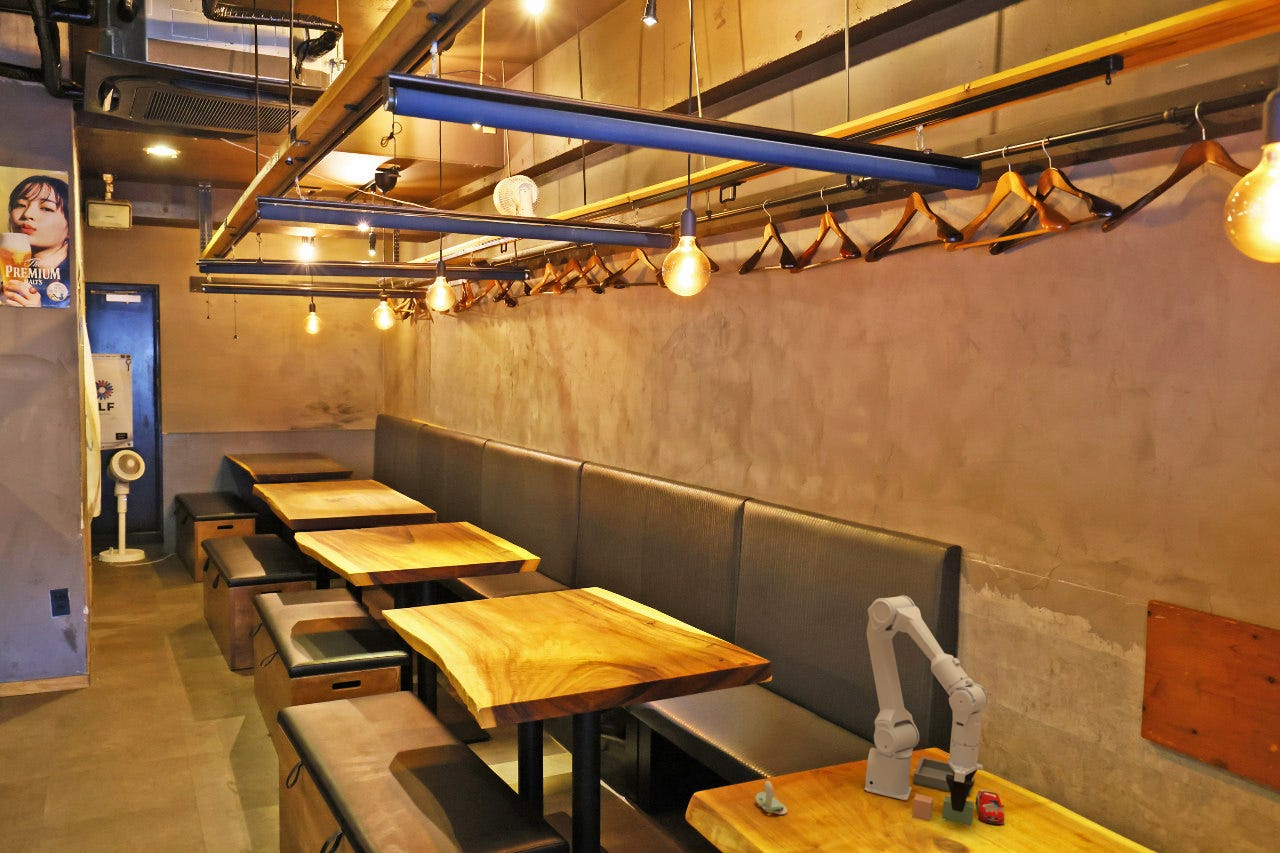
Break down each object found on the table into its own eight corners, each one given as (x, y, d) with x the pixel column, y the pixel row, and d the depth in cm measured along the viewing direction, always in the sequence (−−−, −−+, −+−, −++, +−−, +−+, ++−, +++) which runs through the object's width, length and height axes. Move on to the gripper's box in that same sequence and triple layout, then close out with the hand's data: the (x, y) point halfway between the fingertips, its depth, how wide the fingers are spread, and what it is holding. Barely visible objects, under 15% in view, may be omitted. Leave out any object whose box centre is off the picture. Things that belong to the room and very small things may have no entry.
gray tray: (912, 784, 223) (913, 773, 223) (920, 766, 235) (921, 756, 235) (969, 797, 218) (970, 786, 218) (973, 779, 230) (974, 768, 229)
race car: (1004, 829, 203) (1006, 811, 203) (977, 824, 204) (979, 805, 204) (1000, 805, 215) (1002, 787, 215) (974, 800, 217) (976, 783, 217)
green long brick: (941, 819, 205) (943, 801, 205) (943, 813, 208) (945, 795, 208) (971, 826, 202) (973, 808, 202) (972, 820, 205) (974, 802, 205)
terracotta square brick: (912, 817, 204) (914, 799, 204) (914, 811, 207) (916, 793, 207) (929, 821, 203) (931, 803, 203) (931, 815, 206) (933, 797, 206)
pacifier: (776, 802, 207) (751, 803, 205) (780, 774, 206) (755, 774, 205) (792, 817, 200) (767, 818, 198) (796, 788, 200) (770, 788, 198)
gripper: (982, 756, 196) (976, 821, 197) (986, 735, 210) (981, 797, 210) (946, 748, 199) (940, 812, 199) (953, 729, 212) (947, 789, 213)
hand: (959, 804), depth 205 cm, fingers open, 7 cm apart
